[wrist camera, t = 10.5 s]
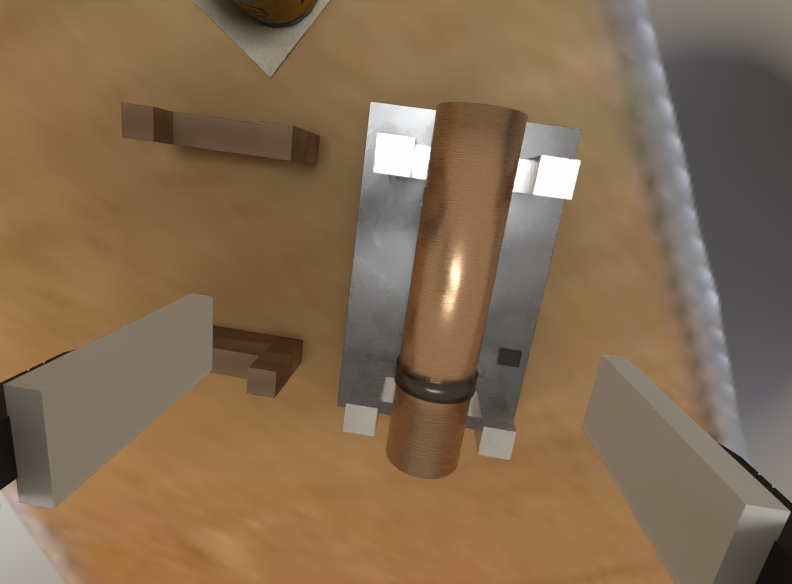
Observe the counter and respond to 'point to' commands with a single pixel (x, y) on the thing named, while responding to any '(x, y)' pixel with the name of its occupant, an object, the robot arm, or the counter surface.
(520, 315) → the plate
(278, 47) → the condiment
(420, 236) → the tube
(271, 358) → the walnut rack
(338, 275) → the counter surface
